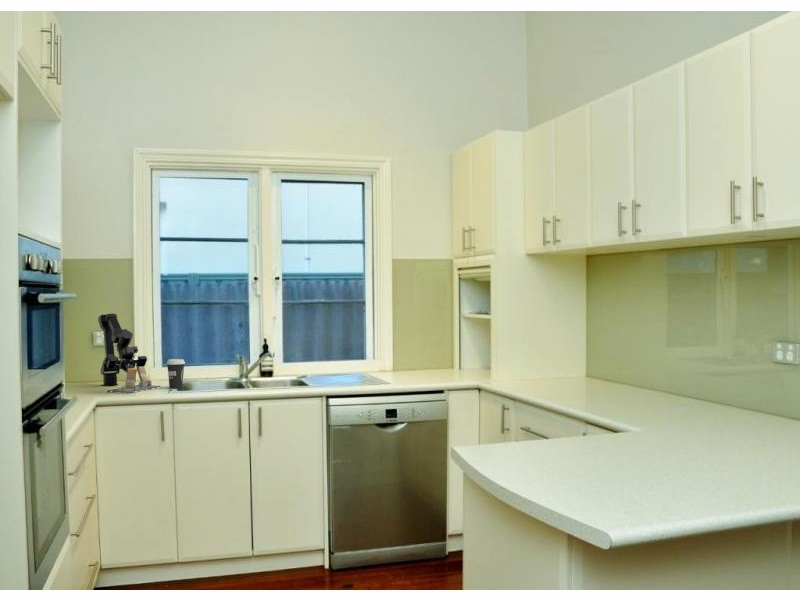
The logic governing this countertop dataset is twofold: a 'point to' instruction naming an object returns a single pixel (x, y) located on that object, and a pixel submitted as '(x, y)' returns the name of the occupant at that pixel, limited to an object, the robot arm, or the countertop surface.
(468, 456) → the countertop surface
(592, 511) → the countertop surface
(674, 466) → the countertop surface
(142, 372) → the lever
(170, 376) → the coffee cup
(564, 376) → the countertop surface
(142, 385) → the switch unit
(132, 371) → the lever
